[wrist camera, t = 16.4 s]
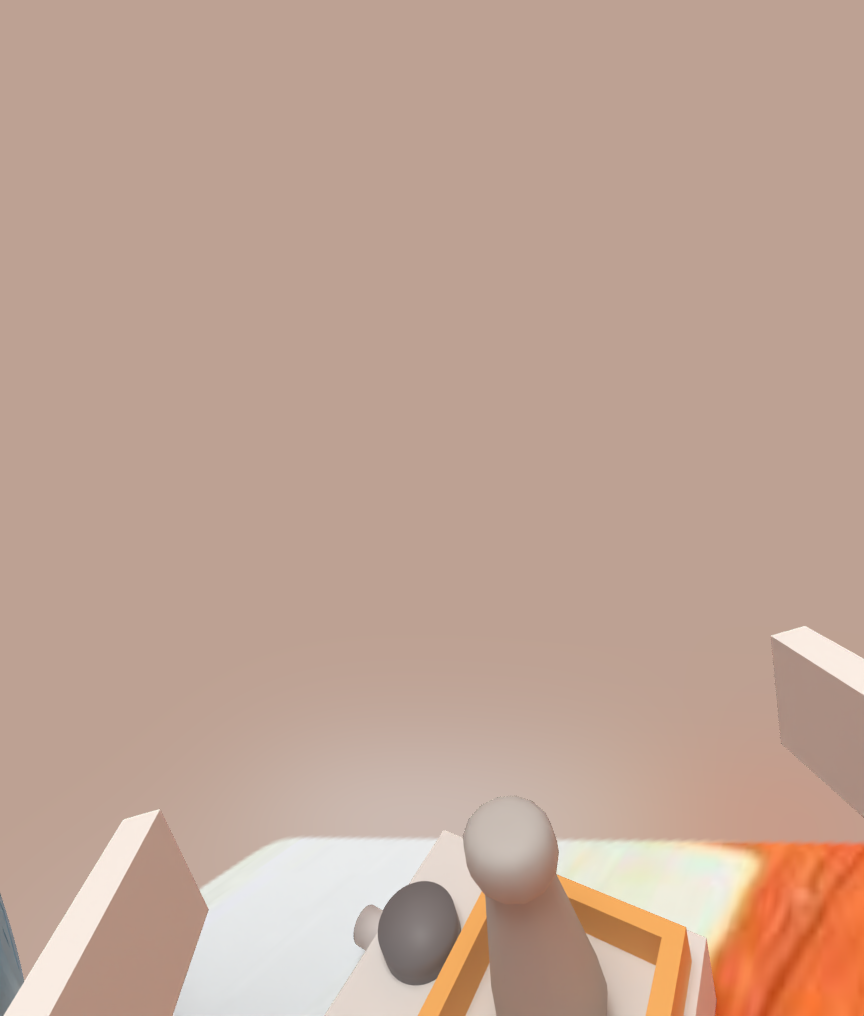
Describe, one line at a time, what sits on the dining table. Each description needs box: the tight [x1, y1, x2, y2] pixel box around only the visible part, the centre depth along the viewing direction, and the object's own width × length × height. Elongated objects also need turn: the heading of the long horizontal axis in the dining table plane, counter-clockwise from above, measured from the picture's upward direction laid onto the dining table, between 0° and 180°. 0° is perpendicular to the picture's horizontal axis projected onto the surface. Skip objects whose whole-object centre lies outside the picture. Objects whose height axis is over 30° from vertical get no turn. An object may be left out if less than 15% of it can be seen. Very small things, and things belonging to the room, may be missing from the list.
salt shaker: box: [463, 796, 608, 1016], centre depth 25 cm, size 6×6×13 cm
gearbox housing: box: [324, 830, 716, 1016], centre depth 29 cm, size 21×14×8 cm, turn 55°
